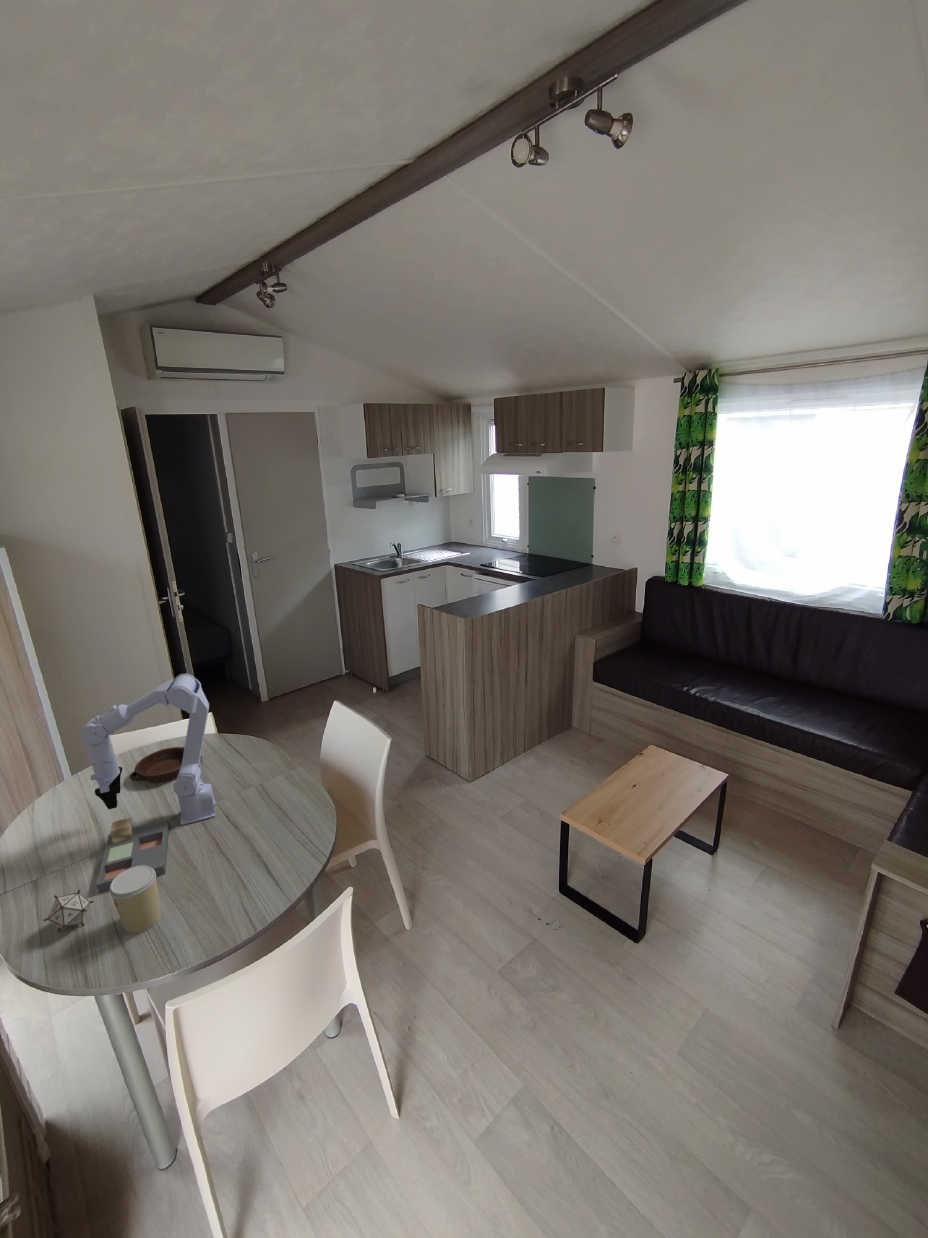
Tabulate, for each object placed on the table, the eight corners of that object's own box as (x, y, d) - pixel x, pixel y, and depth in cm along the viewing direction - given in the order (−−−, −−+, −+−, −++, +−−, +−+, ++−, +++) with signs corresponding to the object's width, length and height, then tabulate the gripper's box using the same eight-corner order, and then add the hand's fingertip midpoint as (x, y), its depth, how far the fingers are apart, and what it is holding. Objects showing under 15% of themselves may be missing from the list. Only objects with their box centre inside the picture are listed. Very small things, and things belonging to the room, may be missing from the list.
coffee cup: (131, 906, 137) (121, 866, 133) (171, 902, 137) (161, 862, 134) (112, 938, 128) (100, 896, 124) (154, 935, 128) (144, 892, 125)
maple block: (133, 829, 160) (130, 817, 159) (131, 839, 156) (128, 827, 155) (115, 834, 159) (112, 822, 157) (113, 844, 155) (110, 831, 153)
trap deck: (169, 826, 165) (167, 819, 164) (165, 873, 147) (163, 865, 146) (110, 841, 159) (108, 834, 159) (98, 893, 141) (96, 885, 140)
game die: (78, 941, 132) (61, 935, 124) (47, 926, 132) (28, 919, 124) (106, 902, 137) (91, 894, 129) (75, 888, 138) (59, 879, 130)
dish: (130, 770, 194) (127, 758, 193) (199, 751, 205) (196, 739, 204) (132, 796, 180) (129, 783, 179) (206, 774, 191) (203, 761, 189)
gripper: (91, 750, 163) (102, 791, 167) (82, 776, 150) (94, 819, 154) (118, 744, 165) (129, 784, 170) (112, 769, 153) (123, 811, 157)
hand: (114, 800), depth 162 cm, fingers open, 7 cm apart
